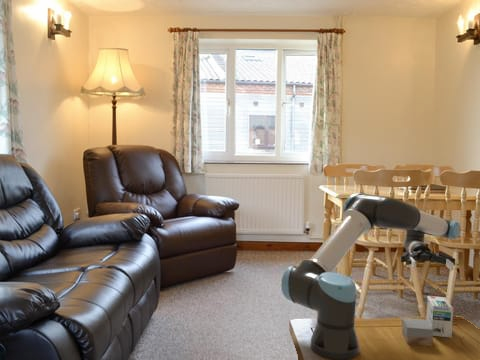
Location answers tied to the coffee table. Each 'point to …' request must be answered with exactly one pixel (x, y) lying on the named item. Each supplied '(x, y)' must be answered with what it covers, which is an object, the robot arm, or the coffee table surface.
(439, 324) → the light bulb box
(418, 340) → the walnut base block
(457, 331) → the coffee table surface
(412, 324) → the grey square tile
